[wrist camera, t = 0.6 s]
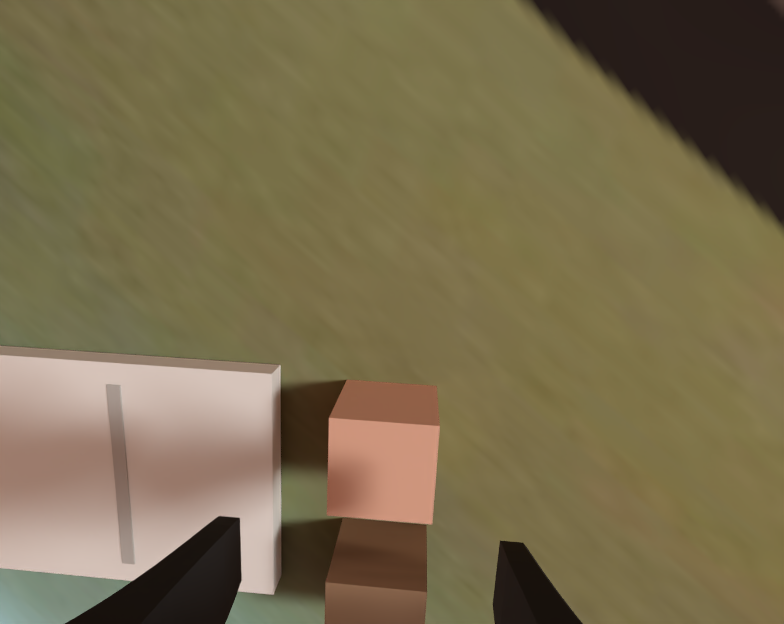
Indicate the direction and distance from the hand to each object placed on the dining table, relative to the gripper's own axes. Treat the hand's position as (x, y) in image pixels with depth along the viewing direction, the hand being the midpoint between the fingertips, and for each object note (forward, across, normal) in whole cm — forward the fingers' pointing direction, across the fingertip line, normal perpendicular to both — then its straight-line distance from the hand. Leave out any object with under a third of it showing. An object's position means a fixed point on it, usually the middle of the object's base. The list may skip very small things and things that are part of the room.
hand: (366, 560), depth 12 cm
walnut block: (+8, 0, +7) cm, 11 cm away
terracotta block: (+8, 0, 0) cm, 8 cm away
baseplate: (+8, +12, +3) cm, 15 cm away
